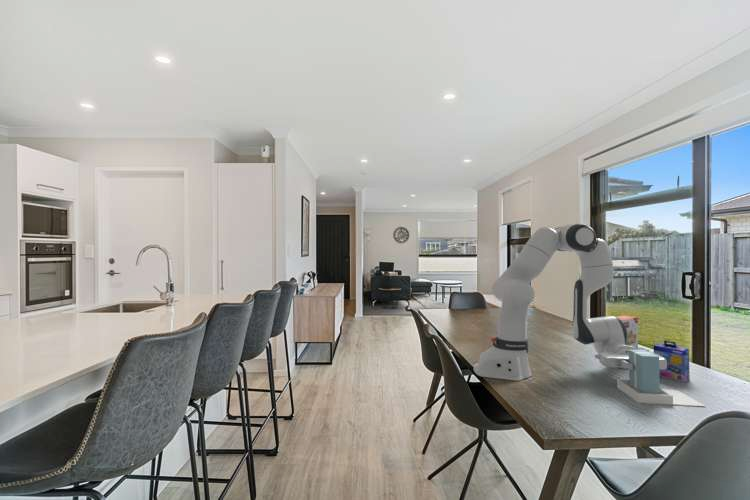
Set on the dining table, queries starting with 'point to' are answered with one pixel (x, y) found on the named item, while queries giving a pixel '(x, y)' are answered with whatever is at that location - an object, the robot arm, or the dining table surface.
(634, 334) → the cracker box
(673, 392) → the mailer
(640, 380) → the gift box
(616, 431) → the dining table surface
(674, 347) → the ink cartridge box
